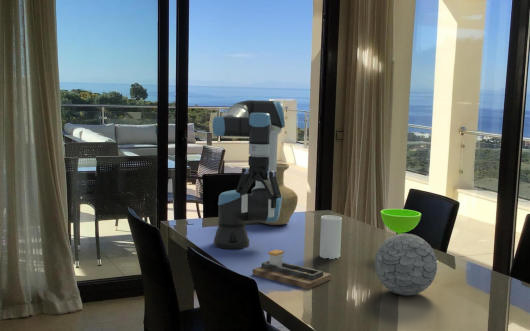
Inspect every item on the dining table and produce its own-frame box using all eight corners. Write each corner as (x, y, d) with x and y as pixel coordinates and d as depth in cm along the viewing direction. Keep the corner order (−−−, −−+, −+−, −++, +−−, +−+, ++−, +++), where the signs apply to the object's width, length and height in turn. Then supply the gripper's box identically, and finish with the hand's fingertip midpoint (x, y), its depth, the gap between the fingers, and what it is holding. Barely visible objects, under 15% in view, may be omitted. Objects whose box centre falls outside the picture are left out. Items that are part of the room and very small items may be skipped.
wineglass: (392, 249, 249) (394, 207, 247) (426, 256, 237) (428, 213, 235) (370, 255, 238) (372, 212, 235) (404, 264, 226) (407, 218, 224)
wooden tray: (252, 274, 208) (252, 264, 208) (275, 266, 219) (276, 256, 219) (309, 289, 194) (309, 278, 193) (330, 279, 205) (331, 269, 204)
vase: (297, 229, 281) (299, 167, 277) (251, 228, 281) (252, 166, 278) (296, 219, 303) (297, 162, 300) (252, 218, 304) (254, 161, 300)
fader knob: (267, 267, 209) (268, 252, 209) (275, 264, 213) (276, 249, 213) (275, 269, 207) (276, 253, 207) (283, 266, 211) (283, 251, 211)
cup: (339, 259, 230) (340, 219, 228) (318, 258, 232) (320, 218, 230) (340, 254, 238) (342, 215, 236) (320, 252, 240) (322, 214, 238)
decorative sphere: (397, 307, 179) (400, 243, 176) (361, 287, 197) (364, 229, 194) (448, 300, 187) (452, 238, 184) (409, 281, 205) (412, 225, 202)
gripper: (226, 153, 215) (226, 211, 218) (279, 159, 201) (278, 220, 204) (239, 152, 221) (238, 208, 224) (292, 157, 207) (290, 217, 210)
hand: (257, 214), depth 214 cm, fingers open, 12 cm apart
